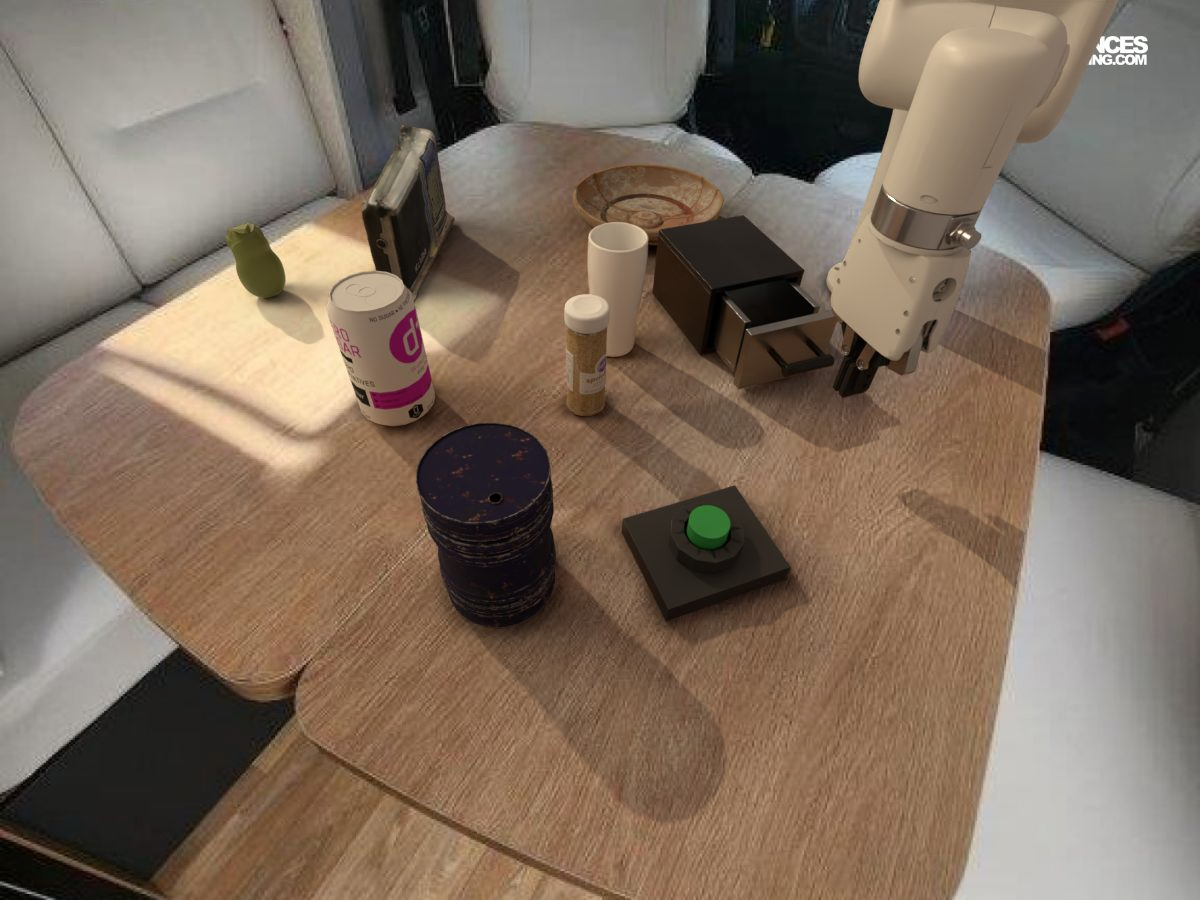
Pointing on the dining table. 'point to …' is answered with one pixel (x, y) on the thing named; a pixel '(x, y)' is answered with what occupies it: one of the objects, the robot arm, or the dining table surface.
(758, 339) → the drawer
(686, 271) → the cabinet
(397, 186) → the radio
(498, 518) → the storage jar
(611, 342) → the tall white cup
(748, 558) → the control block
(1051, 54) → the robot arm
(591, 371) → the sprinkles bottle
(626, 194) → the ceramic bowl
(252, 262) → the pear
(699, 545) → the button
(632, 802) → the dining table surface
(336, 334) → the soda can
